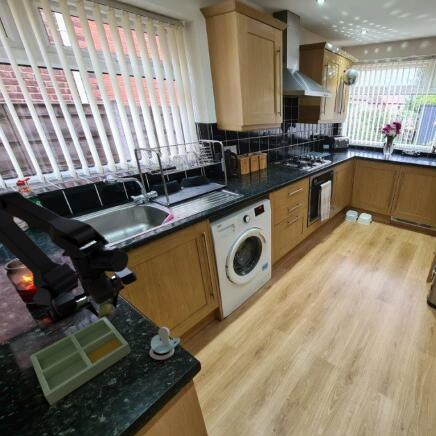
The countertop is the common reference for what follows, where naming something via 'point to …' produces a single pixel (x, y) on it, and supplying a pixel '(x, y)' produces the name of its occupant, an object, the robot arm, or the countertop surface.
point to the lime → (105, 309)
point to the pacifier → (163, 344)
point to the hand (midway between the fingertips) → (106, 311)
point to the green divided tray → (78, 358)
